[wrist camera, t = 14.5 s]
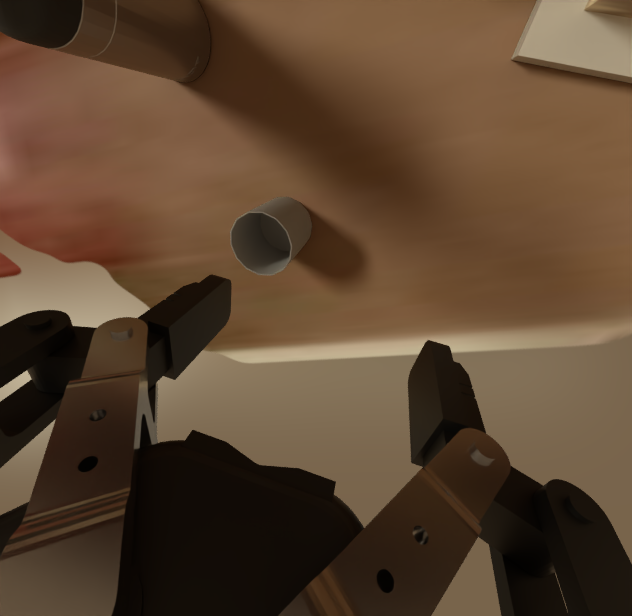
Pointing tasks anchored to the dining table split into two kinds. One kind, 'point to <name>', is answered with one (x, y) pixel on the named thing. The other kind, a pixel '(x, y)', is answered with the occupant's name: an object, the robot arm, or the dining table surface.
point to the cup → (271, 235)
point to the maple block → (611, 7)
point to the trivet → (577, 40)
